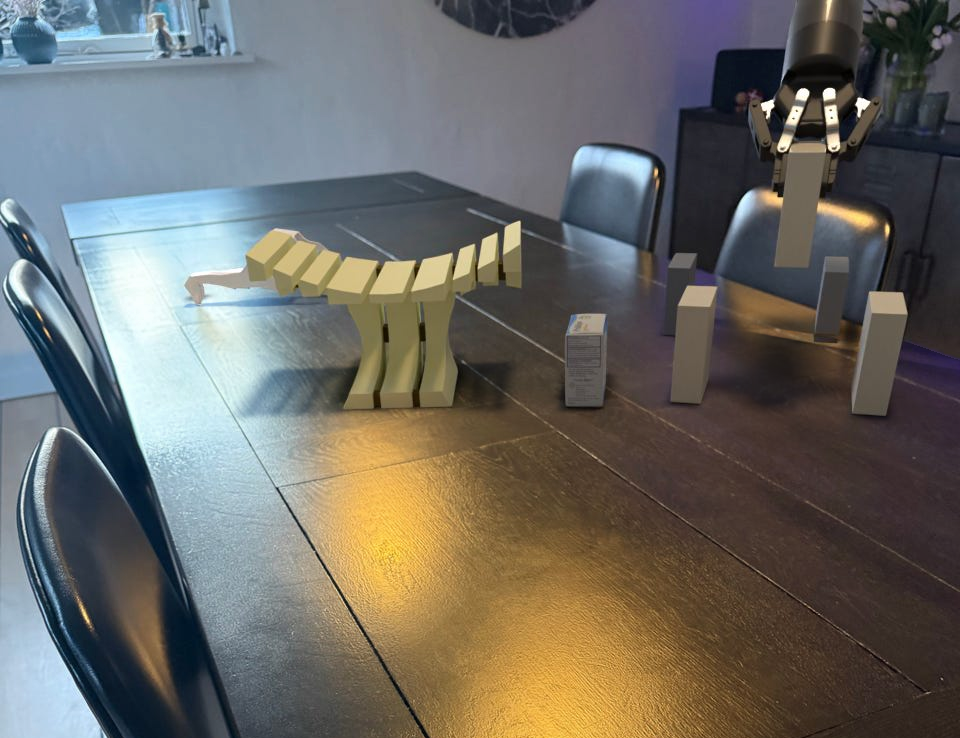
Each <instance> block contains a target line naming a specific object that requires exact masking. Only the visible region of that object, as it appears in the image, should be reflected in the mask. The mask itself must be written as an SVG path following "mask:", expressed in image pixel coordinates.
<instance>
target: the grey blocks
mask: <svg viewBox="0 0 960 738" xmlns="http://www.w3.org/2000/svg"><path fill="white" fill-rule="evenodd" d="M849 259H850V258H849V256H828V255H827V256H824V261H823V266H822V273H821V279H820V286H819V292H818V299H817V303H816V304H817V306H816V311H815V321H814V333H813V343H825V344H827V343H828V344H838V340H839V338H837V337H831V336H826V335H837V336H838V335H840V329H841V323H842V318H843V312H844V307H845V301H846V294H847V288H848V285H849V284H848V283H849V279H850V260H849ZM697 260H698V253H695V252H694V253H691V252H689V253H688V252H687V253H686V252H676V253H674V256H673V257H672V259H671V261H670V263H669V264H668V266H667V269H666V281H665V296H664V312H663V313H664V314H663V327H662V335H663V336H671V337H673V336H674V337H675V336H676V323H677V310H678V304H679V302H680V300H681V298H682V296H683V294H684V292H685V290H686V287H687V286H696V285H695V284H696V272H697Z"/></svg>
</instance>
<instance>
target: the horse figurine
mask: <svg viewBox="0 0 960 738" xmlns="http://www.w3.org/2000/svg"><path fill="white" fill-rule="evenodd" d="M271 231H279V232H282V233H286V234H289V235H291V236H292V238H293V241H294V245H295V244H296V243H297V242H298V240H299V241H303V242H306V243H310V244H313V245H316V247H317V250H318V255H319V254H320V253H321V252H322V251H323V250H327V251H330V250H329V249H328V248H326V247H325V246H324V245H323V244H322V243H320V242H319V241H314V240H313V241H312V240H309V239H307V238H305V237H304V236H303V235H302V233H301V232H300V231H298V230H293V229H284V228H277V227H275V228H274V229H272V230H271ZM343 262H344V261H342V263H343ZM204 285H214V286H218V287H219V286H220V287H224V288H228V289H231V290H236V289H245V290H246V289H248V290H249V289H250V288H260V289H262V290H269V291H273V292H274V291H275V292H278V289H276V284H275V279H274V277H273V275H272V276H271V277H270V278H269V279H268V280H267V281H251V282H250V279H249V274H248V268H247V264H246V265H245V266H243V267H238V268H232V269H225V270H207V271H201V272H200V271H199V272H193V273H191V274H190V275H189V276H188V278H187V280H185V283H184V284H183V286H184V287H185V289H186V291H187V292H188V293H189V295H190V297H191V300H192V301H193V302H194V305H195V306H196V305H197V306H199V305H198V304H201V305H202V302H203V300H204V297H205V292H206V291H205V286H204Z"/></svg>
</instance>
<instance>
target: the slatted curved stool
mask: <svg viewBox="0 0 960 738" xmlns="http://www.w3.org/2000/svg"><path fill="white" fill-rule="evenodd" d="M521 222H522V221H521V220H518V221H515V222H512V223H510V224H508V225H507V226H504V235H503V236H504V237H503V248H502V249H503V250H502V260H500V259H499V257H500V256H499V255H500V254H499V234H498V232H495V233H493V234H491V235H488V236H487V237H484V238H482V240H481V246H480V253H479V259H478V261H477V251H476V243H473V244H469V245H467V246H464V247H461V248H460V249H459V252H458V255H457V260H456V262H455V261H454V255H453V254H454V253H453V252H449V253H447V254H441V255H437V256H433V257H427V258H423V259H422V261H421V263H417V259H414V260H404V261H403V260H401V261H397V260H395V261H390V260H388V261H387V260H386V261H385V262H384V264H380V263H379V260H373V259H365V258H359V257H358V258H357V257H351V256H346V257H345V258H344V260H342V256H341V253H339V252H335V251H331V250H329V251H327V250H328V249H327V250H323V251H322V252H321V251H320V254H319V255H318V250H317V247H316V245H313V244H310V243H306V242H303V241H299V240H298V242H297V243H296V244H295V245H294V241H293V238H292V236H291V235H289V234H286V233H282V232H279V231H272V230H270V231H269V232H268V233H266V235H264V236H263V237H262V238H261V239H260V240H258V242H257V243H256V244H255V245H254V246H253V247H252V248H251V249H249V250H248V252H246V253H245V254H244V255H245V262H246V265H247V268H248V274H249V279H250V282H251V281H267V280H268V279H269V278H270V277H271V276H272V275H273V277H274V279H275V284H276V289H278V291H277V292H278V296H279V298H281V297H284V296H288V295H291V294H295V292H296V291H297V290H298V289H299V292H300V294H301V295H302V298H316V297H317V298H318V297H321V296H322V295H324V296H327V303H328V305H329V306H339V305H340V306H341V305H347V310H348V313H349V314H350V315H351V317H352V319H353V322H354V323H355V325H356V328H357V330H358V333H359V336H360V340H361V358H360V363H359V367H358V370H357V373H356V376H355V378H354V381H353V383H352V386H351V388H350V391H349V393H348V396H347V399H346V401H345V403H344V405H343V408H342V410H372V409H373V410H374V409H375V407H380V408H381V409H408V408H409V409H410V408H411V409H412V408H414V406H420V407H419V408H443V407H444V408H447V407H449V408H451V407H453V403H454V397H455V391H456V387H457V386H456V385H457V380H458V374H459V373H458V372H459V369H458V366H457V364H456V361H455V359H454V355H453V352H452V350H451V345H450V338H449V329H450V321H451V316H452V313H453V310H454V308H455V303H456V298H457V296H456V293H459V295H460V297H462V296H463V295H465V294H466V293H469V292H471V291H474V290H476V287H477V282H478V283H482V287H490V286H495V287H496V286H499V283H500V281H505V286H507V287H512V288H517V289H523V288H522V285H523V284H522V279H523V277H522V275H523V274H522V233H521V232H522V228H521V227H522V226H521V225H522V223H521ZM342 262H343V263H342ZM421 303H422V309H423V319H424V322H422V316H421V315H422V313H421ZM384 307H385V308H384ZM385 313H386V316H385ZM386 319H387V323H386ZM424 342H425V357H424ZM424 358H425V360H424ZM423 367H424V368H423ZM420 382H421V383H420ZM419 386H420V388H419Z"/></svg>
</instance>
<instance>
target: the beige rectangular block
mask: <svg viewBox="0 0 960 738" xmlns="http://www.w3.org/2000/svg"><path fill="white" fill-rule="evenodd" d="M825 154H826V143H824V142H823V141H822V140H797V141H796V142H794V143H792V144H791V147H790V151H789V156H788V164H787V172H786V179H785V187H784V195H783V198H782V203H781V211H780V218H779V227H778V236H777V241H776V248H775V255H774V256H775V257H774V265H773V267H774V268H794V269H809V266H810V259H811V254H812V253H811V252H812V247H813V242H814V241H813V240H814V235H815V234H814V233H815V228H816V220H817V214H818V208H819V199H820V198H819V194H820V188H821V181H822V174H823V168H824V161H825Z"/></svg>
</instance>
